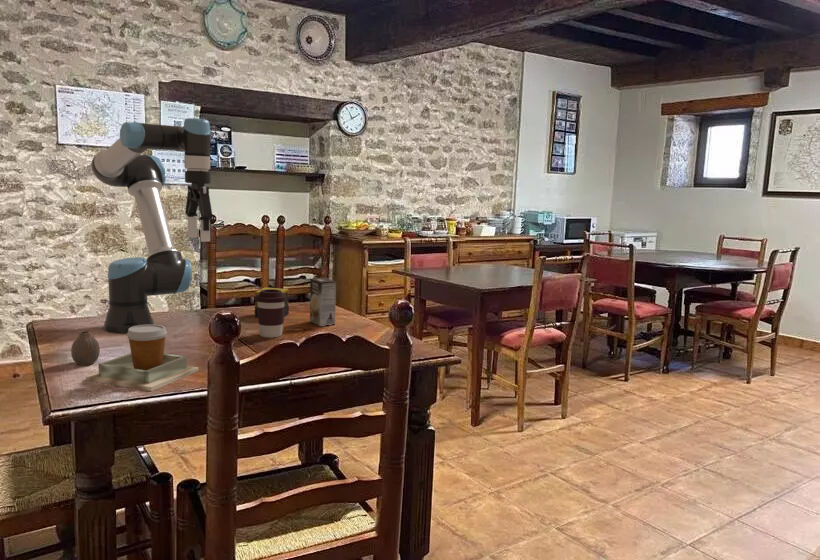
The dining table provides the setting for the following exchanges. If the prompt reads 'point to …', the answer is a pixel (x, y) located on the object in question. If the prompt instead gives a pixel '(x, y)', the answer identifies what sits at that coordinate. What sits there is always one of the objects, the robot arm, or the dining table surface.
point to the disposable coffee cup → (147, 345)
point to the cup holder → (142, 372)
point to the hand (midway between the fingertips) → (198, 239)
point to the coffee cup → (270, 312)
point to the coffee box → (322, 301)
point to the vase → (85, 349)
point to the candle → (285, 292)
